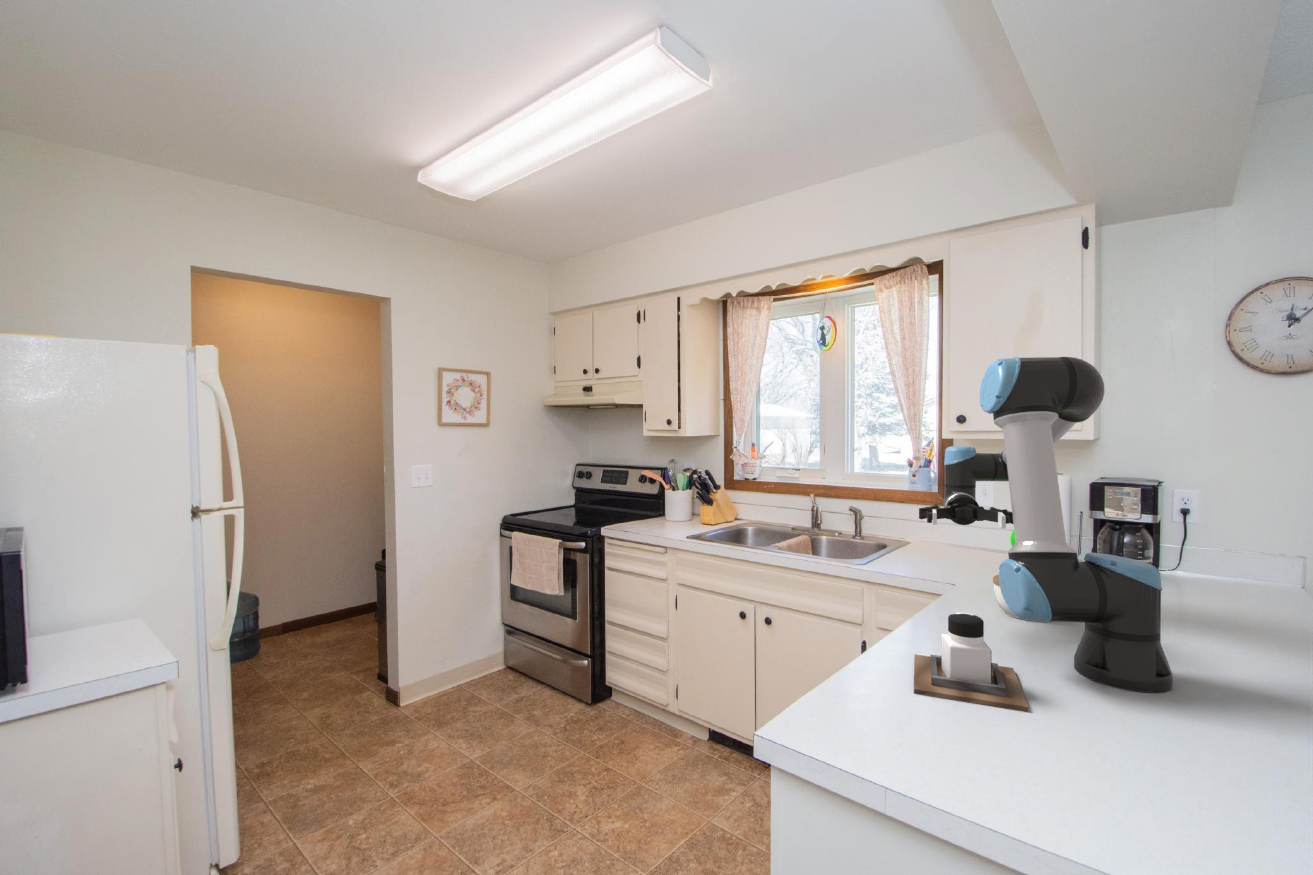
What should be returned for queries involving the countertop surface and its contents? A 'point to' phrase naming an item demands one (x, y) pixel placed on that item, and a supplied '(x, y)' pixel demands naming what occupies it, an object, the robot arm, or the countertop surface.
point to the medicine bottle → (966, 649)
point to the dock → (968, 685)
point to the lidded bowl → (1001, 598)
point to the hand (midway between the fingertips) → (968, 520)
